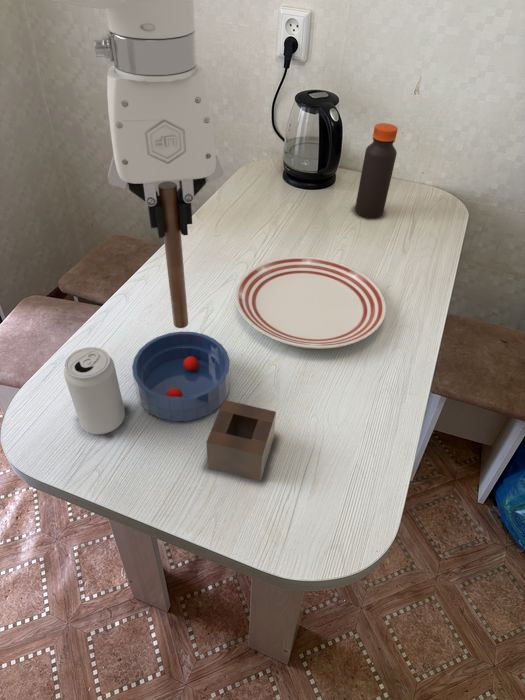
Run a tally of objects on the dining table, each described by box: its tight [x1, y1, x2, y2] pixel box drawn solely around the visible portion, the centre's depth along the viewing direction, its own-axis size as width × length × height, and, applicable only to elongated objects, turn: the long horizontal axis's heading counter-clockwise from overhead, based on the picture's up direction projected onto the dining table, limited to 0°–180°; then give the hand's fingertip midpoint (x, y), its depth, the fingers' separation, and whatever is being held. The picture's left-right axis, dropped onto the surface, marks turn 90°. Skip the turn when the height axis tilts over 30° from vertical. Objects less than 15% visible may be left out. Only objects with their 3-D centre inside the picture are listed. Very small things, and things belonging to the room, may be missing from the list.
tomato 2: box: [183, 356, 199, 371], centre depth 80 cm, size 2×2×2 cm
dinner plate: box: [234, 256, 387, 350], centre depth 93 cm, size 27×27×3 cm
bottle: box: [354, 122, 399, 219], centre depth 115 cm, size 7×7×20 cm
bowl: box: [131, 331, 231, 422], centre depth 77 cm, size 14×14×6 cm
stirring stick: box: [157, 181, 189, 329], centre depth 62 cm, size 2×2×20 cm
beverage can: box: [63, 346, 126, 435], centre depth 69 cm, size 6×6×12 cm
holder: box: [206, 399, 277, 482], centre depth 68 cm, size 7×7×6 cm
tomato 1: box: [166, 388, 183, 397], centre depth 75 cm, size 2×2×2 cm
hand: (171, 229), depth 59 cm, fingers closed on stirring stick, 2 cm apart
